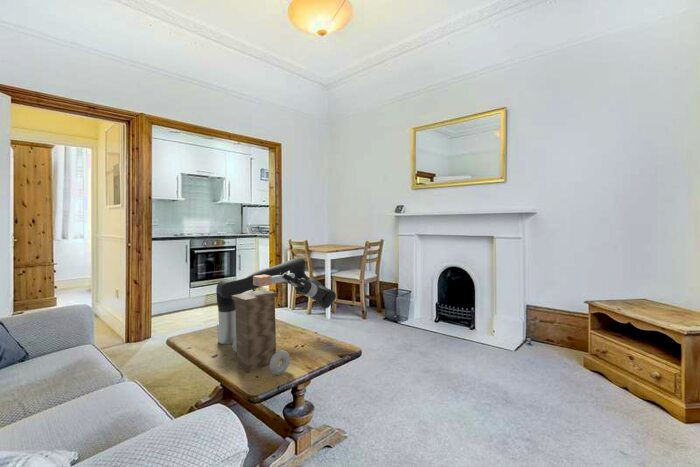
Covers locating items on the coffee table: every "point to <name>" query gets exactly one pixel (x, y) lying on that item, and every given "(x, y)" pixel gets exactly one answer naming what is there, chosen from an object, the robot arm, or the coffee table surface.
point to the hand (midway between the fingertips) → (281, 275)
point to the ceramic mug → (234, 346)
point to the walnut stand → (255, 329)
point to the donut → (275, 359)
